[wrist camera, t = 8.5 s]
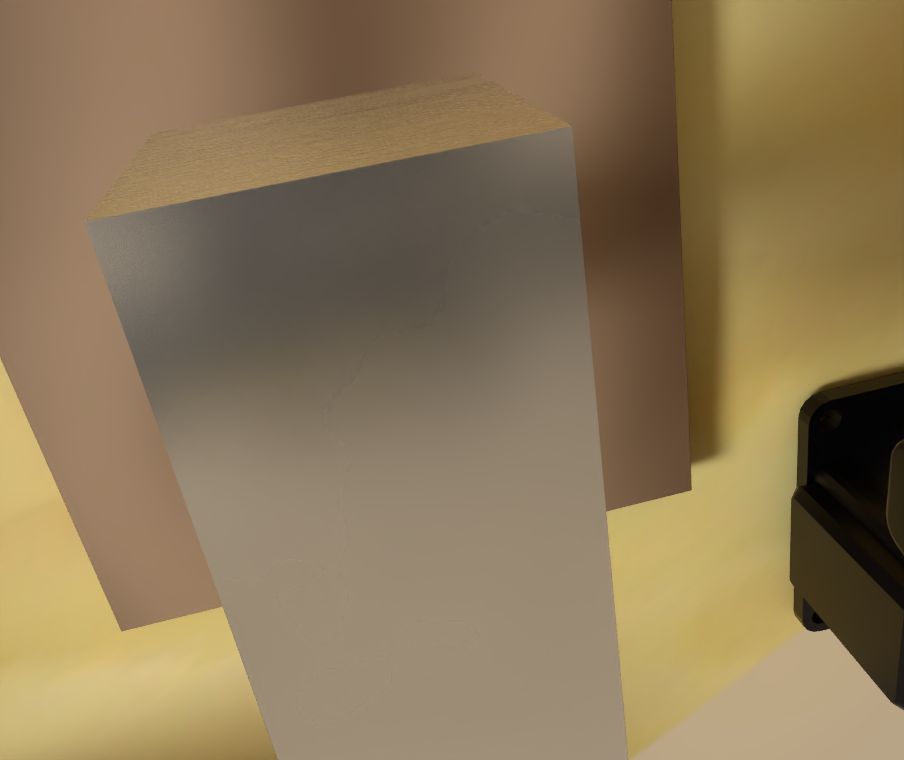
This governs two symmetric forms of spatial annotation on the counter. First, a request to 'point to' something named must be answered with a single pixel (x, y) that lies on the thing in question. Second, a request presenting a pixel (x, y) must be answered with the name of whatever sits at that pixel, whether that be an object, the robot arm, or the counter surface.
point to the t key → (383, 415)
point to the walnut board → (281, 86)
